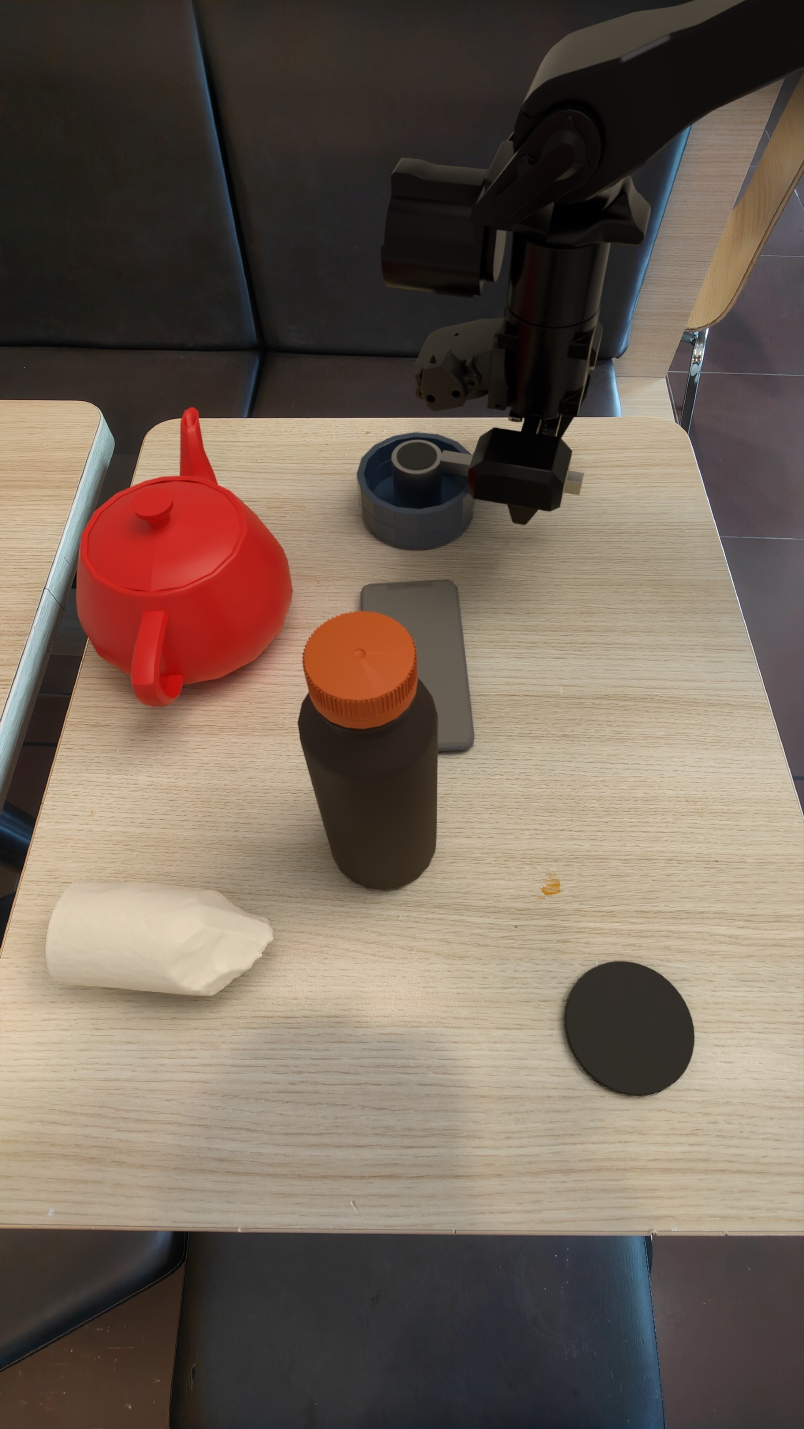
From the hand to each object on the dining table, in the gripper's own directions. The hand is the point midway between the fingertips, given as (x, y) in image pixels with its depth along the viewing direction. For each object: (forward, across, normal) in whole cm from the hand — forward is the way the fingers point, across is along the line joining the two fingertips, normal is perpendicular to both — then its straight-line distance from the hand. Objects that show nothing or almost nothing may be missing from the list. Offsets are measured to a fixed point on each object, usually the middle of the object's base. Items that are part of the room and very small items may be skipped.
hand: (526, 495), depth 62 cm
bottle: (+4, +30, -3) cm, 30 cm away
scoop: (+3, 0, -4) cm, 5 cm away
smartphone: (+4, +16, -5) cm, 17 cm away
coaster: (+3, +37, +13) cm, 39 cm away
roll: (+4, +40, -13) cm, 42 cm away
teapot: (+4, +15, -22) cm, 27 cm away
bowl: (+3, 0, -9) cm, 10 cm away
